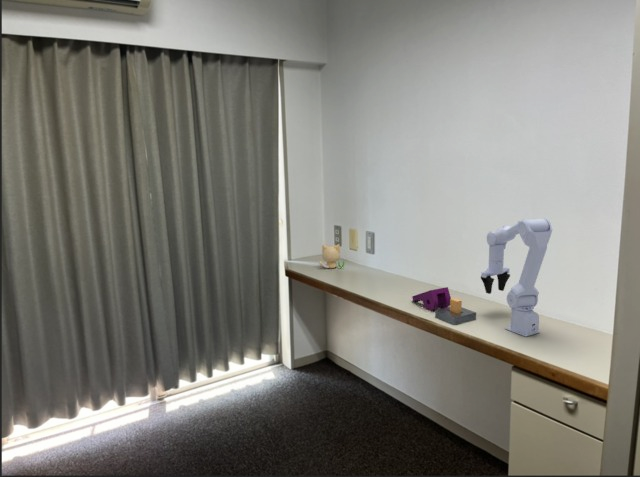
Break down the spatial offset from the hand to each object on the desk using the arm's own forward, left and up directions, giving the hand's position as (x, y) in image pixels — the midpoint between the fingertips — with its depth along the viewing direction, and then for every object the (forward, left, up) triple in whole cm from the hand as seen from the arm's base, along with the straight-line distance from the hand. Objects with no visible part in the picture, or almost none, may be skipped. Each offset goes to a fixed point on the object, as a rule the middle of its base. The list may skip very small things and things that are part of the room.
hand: (494, 291), depth 196 cm
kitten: (+110, +15, -10) cm, 111 cm away
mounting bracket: (+24, +14, -10) cm, 30 cm away
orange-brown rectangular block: (+5, +17, -10) cm, 20 cm away
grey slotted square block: (+5, +17, -10) cm, 20 cm away
